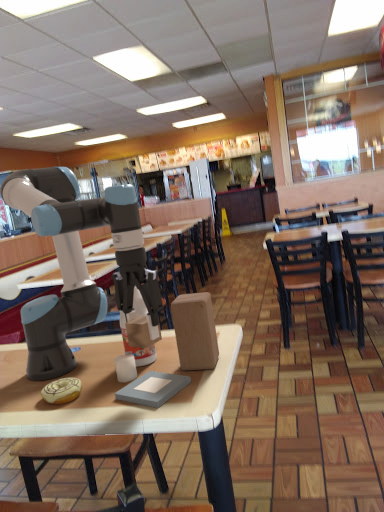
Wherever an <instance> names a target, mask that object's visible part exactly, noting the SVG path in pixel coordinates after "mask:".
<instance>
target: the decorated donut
mask: <svg viewBox="0 0 384 512" xmlns="http://www.w3.org/2000/svg"><path fill="white" fill-rule="evenodd" d="M82 387H83V385H82V381H81V380H80V379H79V378H76V377H65V378H59V379H57V380H54V381H51V382H49V383H48V384H46V385H45V386H44V387H43V388H42V390H41V391H40V395H41V398H42V400H44V401H45V402H46V403H47V404H52V405H61V404H66V403H70V402H73V401H74V400H75V399H76V398H77V397H79V396H80V395H81V392H82Z"/></svg>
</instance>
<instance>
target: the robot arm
mask: <svg viewBox="0 0 384 512" xmlns="http://www.w3.org/2000/svg"><path fill="white" fill-rule="evenodd" d="M103 195H104V196H103V197H97V198H96V197H95V198H90V199H82V200H78V199H79V197H80V185H79V182H78V179H77V177H76V175H75V174H74V172H73V171H72V170H71V169H70V168H68V167H67V166H50V167H40V168H26V169H20V170H19V169H18V170H16V171H13V172H11V173H10V174H8V175H7V176H6V177H5V178H4V179H3V180H2V183H1V184H0V197H1V200H2V202H4V203H5V205H7V206H8V207H9V208H11V209H13V210H18V211H20V212H22V213H24V214H25V215H26V216H27V217H29V218H31V225H32V228H33V230H34V231H35V234H36V235H37V236H39V237H43V238H44V237H49V236H50V237H51V238H52V242H53V245H54V250H55V254H56V258H57V262H58V266H59V269H60V271H59V272H60V274H61V279H62V282H63V283H62V284H63V287H62V288H61V290H60V295H61V296H60V297H59V296H58V295H57V294H49V295H43V296H40V297H38V298H35V299H33V300H31V301H28V302H26V303H25V304H23V306H21V309H20V318H21V320H20V322H21V324H22V329H23V332H24V337H25V342H26V346H27V350H28V352H27V353H28V354H27V361H26V369H25V370H26V371H25V372H26V376H27V379H29V380H30V381H45V380H51V379H55V378H58V377H61V376H64V375H66V374H67V373H69V372H71V371H73V370H74V369H75V368H76V367H77V361H76V357H75V355H74V353H73V351H72V349H71V348H70V346H69V344H68V342H67V338H66V334H68V333H71V332H74V331H77V330H78V331H79V330H80V329H81V330H82V329H85V328H87V327H91V326H94V325H96V324H99V323H101V322H103V321H104V320H105V319H106V317H107V313H108V298H107V296H106V293H105V291H104V290H103V288H102V287H99V286H97V283H96V282H95V281H94V280H92V279H91V277H90V274H89V270H88V269H89V268H88V265H87V261H86V258H85V257H86V256H85V253H84V249H83V246H82V245H83V244H82V240H81V237H80V233H79V231H85V230H92V229H98V228H104V227H110V233H111V239H112V244H113V249H115V250H116V251H114V255H115V261H116V262H115V263H116V265H117V266H118V267H119V269H118V271H117V272H116V271H115V272H113V273H112V274H111V279H112V281H113V284H114V292H115V293H114V294H115V300H116V307H117V308H116V309H117V310H118V312H120V311H123V313H125V318H126V323H127V322H129V321H131V320H133V319H135V318H137V317H136V311H132V310H134V309H135V308H133V297H134V287H135V286H136V288H137V289H139V291H140V294H141V296H142V298H143V301H144V303H145V306H146V308H147V310H148V313H147V315H146V317H147V323H148V329H149V334H150V340H154V339H156V338H158V337H160V336H159V330H158V325H159V324H160V319H158V318H159V313H158V312H160V311H162V310H164V303H163V300H162V299H163V298H162V294H161V289H160V285H159V280H158V275H159V272H158V270H151V269H149V268H148V266H147V264H146V263H147V260H148V259H147V252H146V247H144V244H145V240H144V235H143V233H144V232H143V227H142V223H141V215H140V209H139V208H140V207H139V203H138V201H139V200H138V197H137V193H136V190H135V186H134V185H133V184H130V183H129V184H128V183H126V184H117V185H112V186H106V187H105V188H104V194H103ZM121 304H122V305H121Z"/></svg>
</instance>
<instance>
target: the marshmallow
mask: <svg viewBox="0 0 384 512" xmlns="http://www.w3.org/2000/svg"><path fill="white" fill-rule="evenodd" d="M113 362H114V367H115V372H116V378H117V381H118V382H119V383H129V382H133V381H135V380H136V379H138V372H137V367H136V365H135V359H134V355H132V354H125V353H124V354H121V355H118V356H116V357H115V358H114V359H113Z"/></svg>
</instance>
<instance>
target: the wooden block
mask: <svg viewBox="0 0 384 512" xmlns="http://www.w3.org/2000/svg"><path fill="white" fill-rule="evenodd" d="M170 309H171V316H172V323H173V329H174V334H175V340H176V342H175V343H176V347H177V352H178V358H179V360H178V361H179V365H180V369H181V371H196V370H197V371H198V370H213V369H215V367H216V364H217V362H218V359H219V356H220V350H219V343H218V335H217V329H216V322H215V316H214V309H213V301H212V296H211V293H210V292H208V291H206V292H195V293H184V294H179V295H178V296H176V297H175V299H174V300H173V301H172V302H171V303H170Z"/></svg>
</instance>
